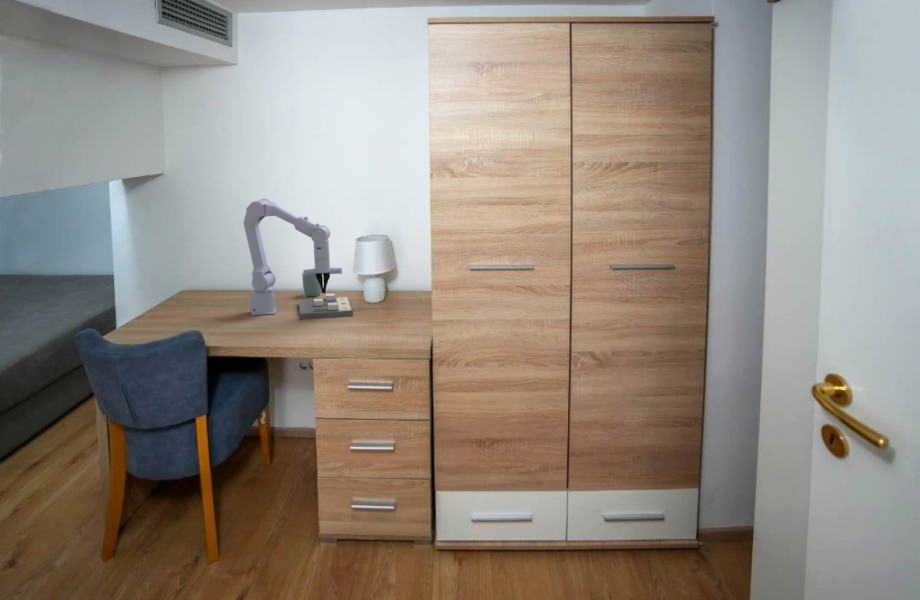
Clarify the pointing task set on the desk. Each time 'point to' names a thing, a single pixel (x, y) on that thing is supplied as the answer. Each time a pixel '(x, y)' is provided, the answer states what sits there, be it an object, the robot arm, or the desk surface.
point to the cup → (311, 285)
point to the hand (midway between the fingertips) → (323, 292)
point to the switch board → (325, 308)
